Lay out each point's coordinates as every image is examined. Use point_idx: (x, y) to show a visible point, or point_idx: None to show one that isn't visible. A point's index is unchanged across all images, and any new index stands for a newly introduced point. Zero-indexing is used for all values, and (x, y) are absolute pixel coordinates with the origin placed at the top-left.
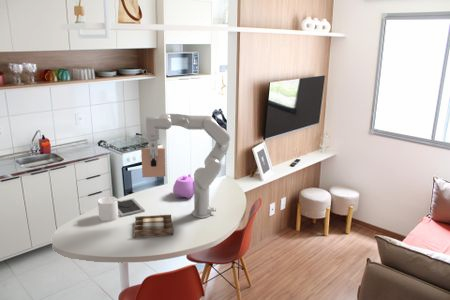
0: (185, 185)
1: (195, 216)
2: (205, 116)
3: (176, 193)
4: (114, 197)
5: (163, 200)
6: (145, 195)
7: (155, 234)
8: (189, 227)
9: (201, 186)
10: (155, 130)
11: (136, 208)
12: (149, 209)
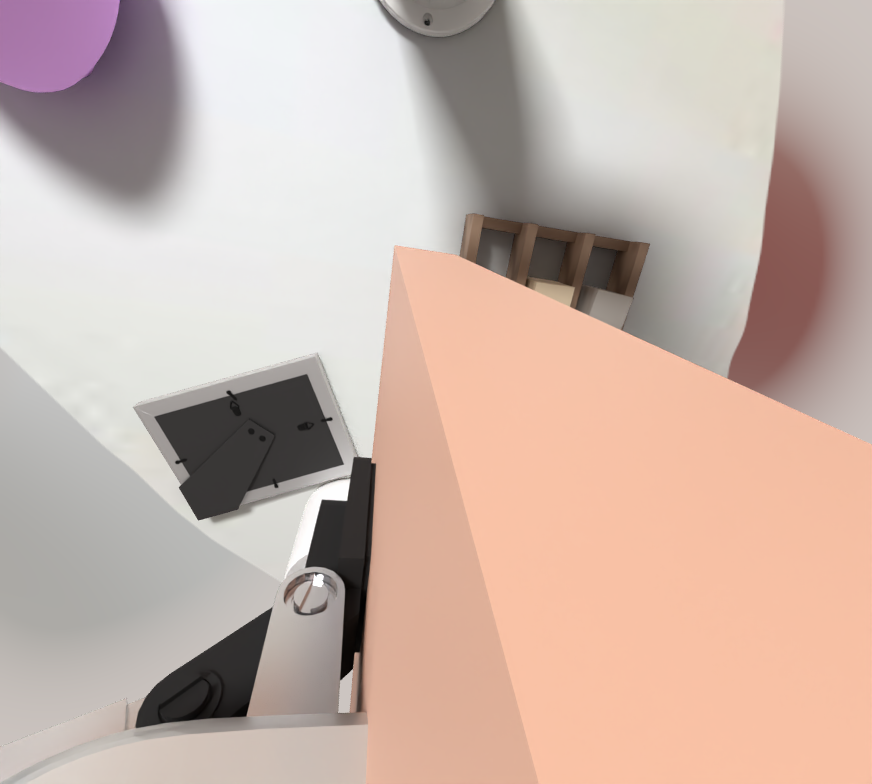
0: None
1: (479, 19)
2: None
3: (87, 70)
4: (302, 557)
5: (151, 205)
6: (56, 321)
7: None
8: (590, 117)
9: None
10: None
11: (290, 398)
12: (291, 322)
